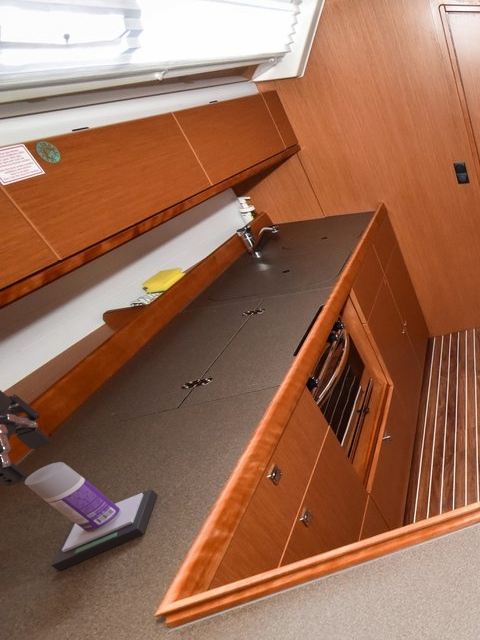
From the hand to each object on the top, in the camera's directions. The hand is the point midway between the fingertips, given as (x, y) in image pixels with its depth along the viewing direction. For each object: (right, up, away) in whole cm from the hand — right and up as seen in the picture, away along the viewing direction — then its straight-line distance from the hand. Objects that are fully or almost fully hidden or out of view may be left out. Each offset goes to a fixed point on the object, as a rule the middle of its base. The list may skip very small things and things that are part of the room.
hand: (31, 462), depth 70 cm
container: (0, -16, +9) cm, 18 cm away
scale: (+1, -18, +10) cm, 21 cm away
